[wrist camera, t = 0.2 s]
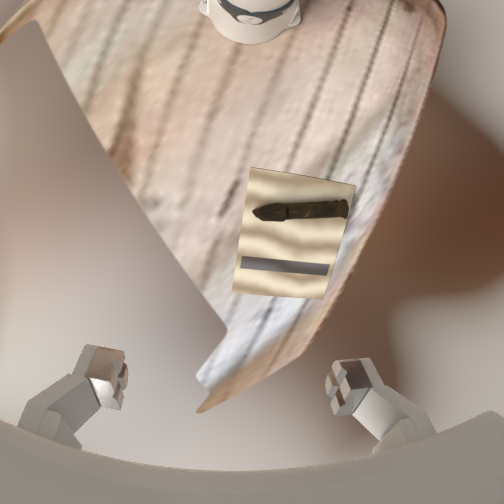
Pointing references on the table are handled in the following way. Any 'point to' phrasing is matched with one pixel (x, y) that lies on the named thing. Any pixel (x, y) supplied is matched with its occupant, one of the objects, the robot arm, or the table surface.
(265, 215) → the hand tool
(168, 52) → the table surface
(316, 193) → the sheet
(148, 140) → the table surface
